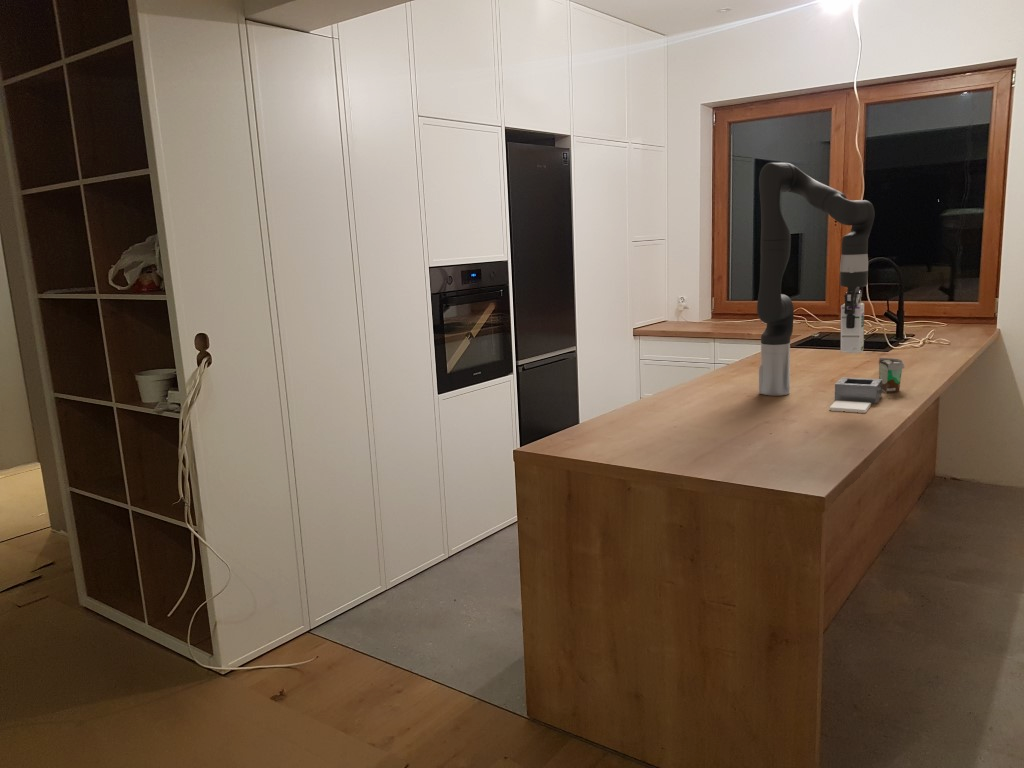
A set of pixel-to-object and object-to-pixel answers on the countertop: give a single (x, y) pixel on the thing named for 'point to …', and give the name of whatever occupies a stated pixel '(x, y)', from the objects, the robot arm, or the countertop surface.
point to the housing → (858, 390)
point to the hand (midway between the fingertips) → (852, 326)
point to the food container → (890, 374)
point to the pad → (850, 406)
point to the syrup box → (852, 331)
